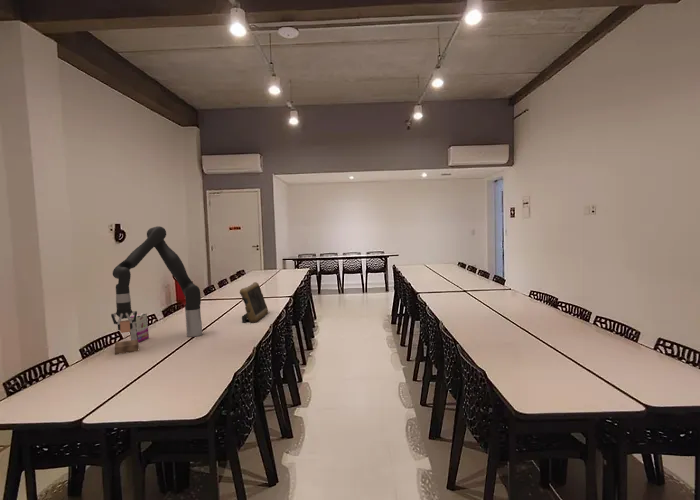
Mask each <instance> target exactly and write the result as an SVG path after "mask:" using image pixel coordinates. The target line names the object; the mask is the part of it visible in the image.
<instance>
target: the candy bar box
mask: <svg viewBox="0 0 700 500" xmlns="http://www.w3.org/2000/svg"><path fill="white" fill-rule="evenodd" d="M130 318H131V320H133V319H134V315H132V316H131V315H130ZM132 325H133V328H131V330H130V332H129V333H130V340H137V339H138V342H139V343H141V342H143V341H145V339H146V340H148V339H149V338H150V336H149V324H148V315H147V312H141V313H137V316H136V321H135V322H133V323H132Z"/></svg>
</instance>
